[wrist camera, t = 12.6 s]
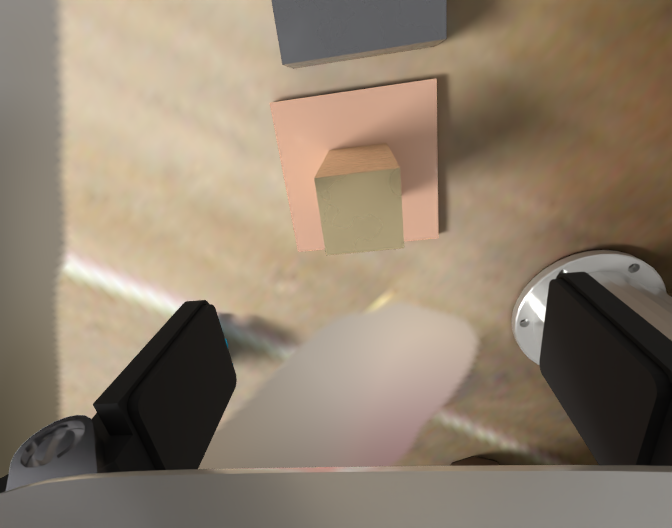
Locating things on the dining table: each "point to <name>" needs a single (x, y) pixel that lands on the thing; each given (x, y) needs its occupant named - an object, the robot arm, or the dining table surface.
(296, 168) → the terracotta tile
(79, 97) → the dining table surface
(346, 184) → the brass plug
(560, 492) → the robot arm
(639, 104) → the dining table surface
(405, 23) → the grey block with hole
